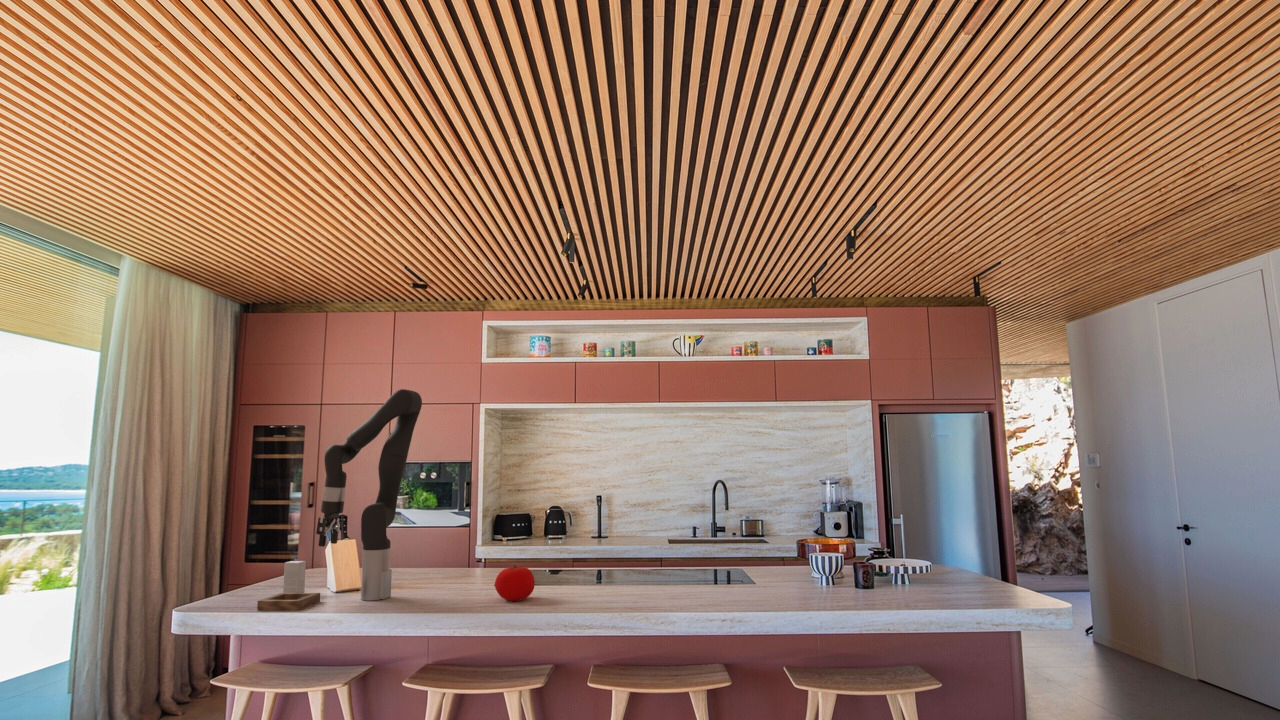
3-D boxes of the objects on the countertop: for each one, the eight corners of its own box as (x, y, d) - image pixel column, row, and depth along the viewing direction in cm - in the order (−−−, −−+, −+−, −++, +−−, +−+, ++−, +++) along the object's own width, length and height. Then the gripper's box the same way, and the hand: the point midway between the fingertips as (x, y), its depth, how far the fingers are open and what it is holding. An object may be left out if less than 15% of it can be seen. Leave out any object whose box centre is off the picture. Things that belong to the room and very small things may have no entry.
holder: (320, 601, 245) (320, 592, 246) (297, 610, 231) (298, 601, 232) (281, 601, 246) (282, 592, 247) (257, 610, 232) (257, 600, 233)
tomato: (529, 603, 238) (529, 568, 240) (490, 603, 240) (490, 568, 241) (539, 596, 251) (539, 562, 252) (501, 595, 253) (502, 562, 254)
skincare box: (304, 594, 259) (306, 560, 261) (298, 596, 255) (299, 562, 256) (289, 594, 260) (291, 560, 261) (282, 596, 255) (284, 562, 257)
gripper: (333, 501, 250) (327, 548, 248) (352, 499, 264) (347, 543, 262) (313, 500, 250) (307, 546, 248) (333, 497, 264) (327, 541, 262)
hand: (327, 544), depth 255 cm, fingers open, 8 cm apart
